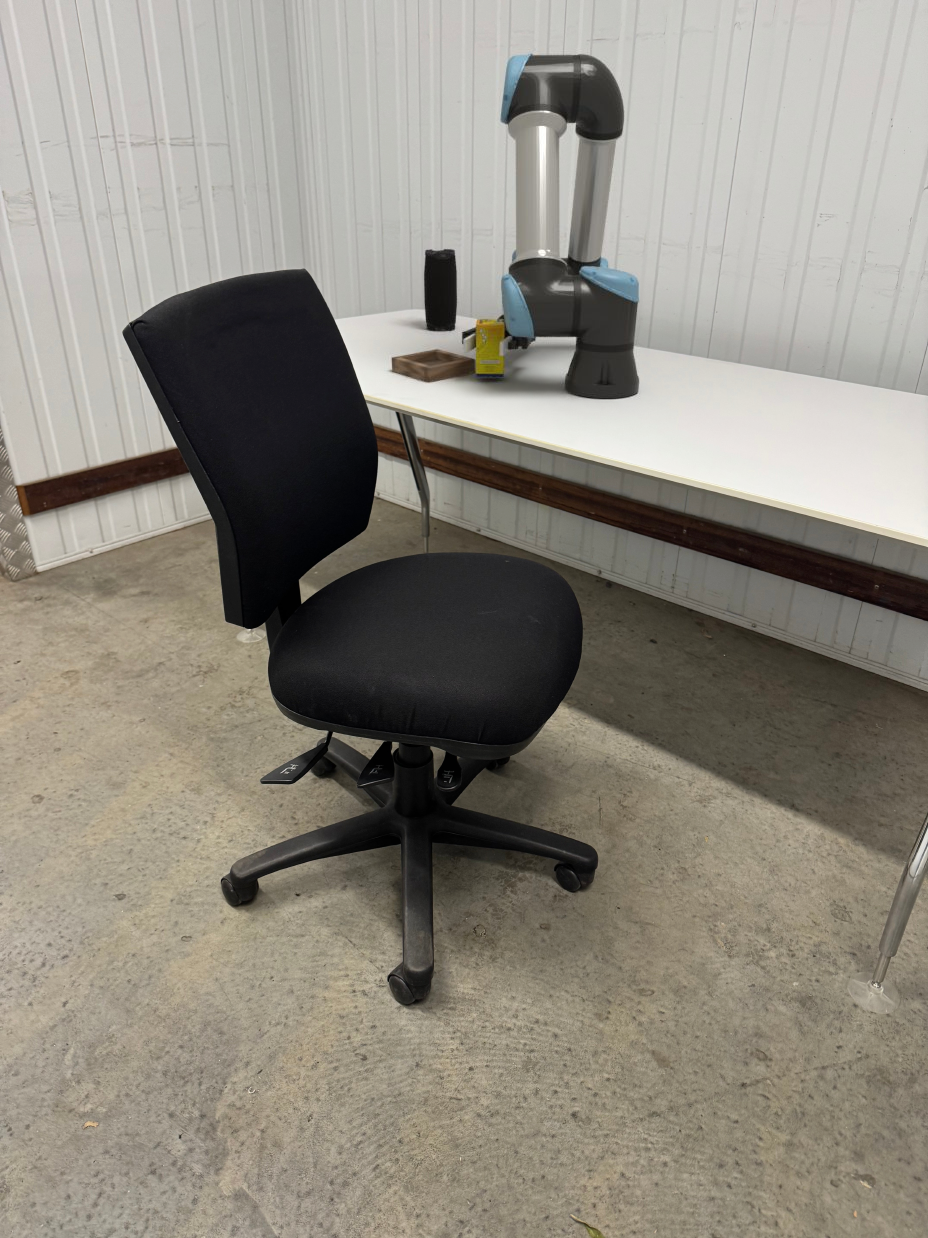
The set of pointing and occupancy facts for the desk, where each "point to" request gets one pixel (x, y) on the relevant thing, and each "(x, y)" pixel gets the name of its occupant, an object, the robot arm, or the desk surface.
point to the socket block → (433, 365)
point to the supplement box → (489, 347)
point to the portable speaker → (440, 289)
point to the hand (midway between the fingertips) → (483, 347)
